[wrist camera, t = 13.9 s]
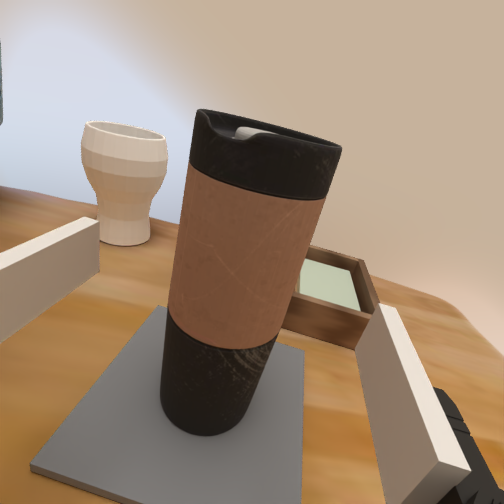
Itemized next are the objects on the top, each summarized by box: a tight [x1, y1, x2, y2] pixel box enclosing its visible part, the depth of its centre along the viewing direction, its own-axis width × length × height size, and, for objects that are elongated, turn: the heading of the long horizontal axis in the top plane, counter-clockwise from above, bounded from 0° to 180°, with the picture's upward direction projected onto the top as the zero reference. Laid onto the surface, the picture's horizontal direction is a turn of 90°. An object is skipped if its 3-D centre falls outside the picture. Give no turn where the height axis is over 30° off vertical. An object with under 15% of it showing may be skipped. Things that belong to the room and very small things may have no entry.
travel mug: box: [160, 109, 342, 436], centre depth 19 cm, size 8×8×20 cm
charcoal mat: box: [30, 305, 305, 504], centre depth 24 cm, size 16×16×1 cm
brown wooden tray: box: [281, 245, 380, 350], centre depth 40 cm, size 22×16×4 cm
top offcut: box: [297, 259, 361, 311], centre depth 40 cm, size 8×11×1 cm
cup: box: [81, 121, 168, 246], centre depth 41 cm, size 11×11×15 cm
